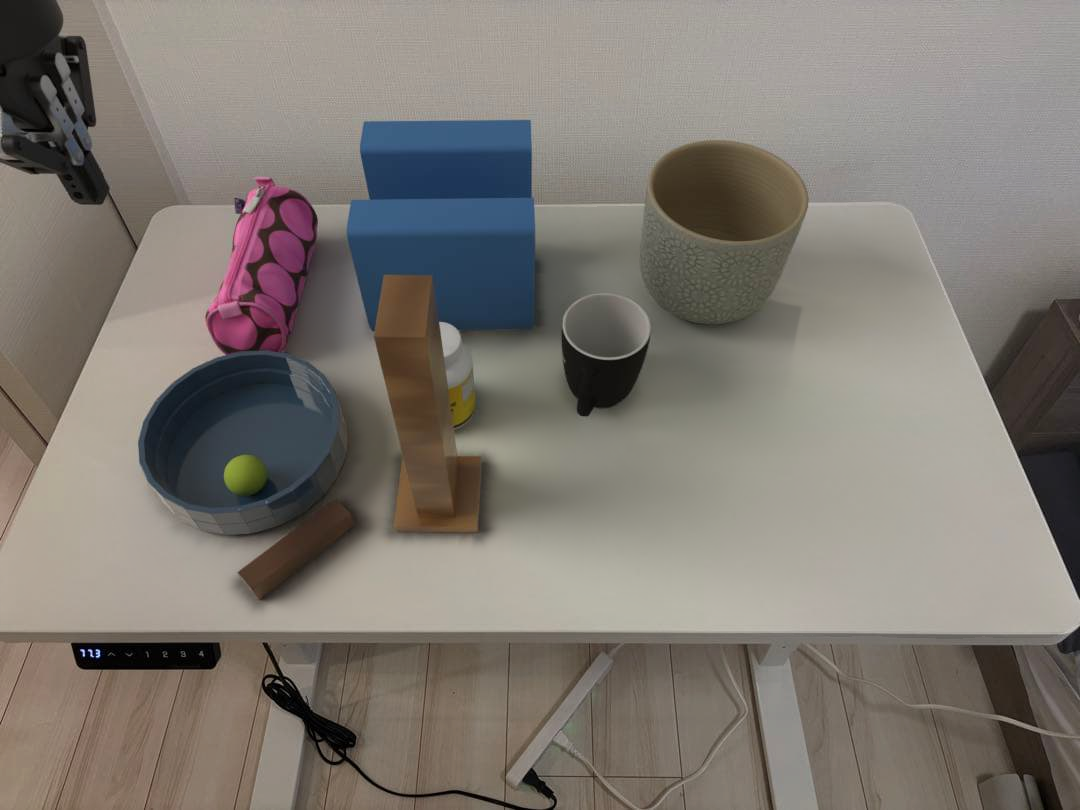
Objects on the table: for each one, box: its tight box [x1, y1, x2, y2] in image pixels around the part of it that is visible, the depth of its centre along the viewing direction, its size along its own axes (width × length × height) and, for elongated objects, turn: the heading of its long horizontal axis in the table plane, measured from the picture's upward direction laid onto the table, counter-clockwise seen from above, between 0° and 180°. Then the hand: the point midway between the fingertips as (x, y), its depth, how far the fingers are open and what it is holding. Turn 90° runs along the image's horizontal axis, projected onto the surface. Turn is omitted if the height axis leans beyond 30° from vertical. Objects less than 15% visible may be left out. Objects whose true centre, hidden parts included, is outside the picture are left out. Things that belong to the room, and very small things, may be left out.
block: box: [346, 119, 536, 332], centre depth 88 cm, size 18×18×18 cm
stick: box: [237, 497, 356, 601], centre depth 75 cm, size 11×2×2 cm, turn 135°
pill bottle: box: [439, 322, 477, 431], centre depth 81 cm, size 6×6×12 cm
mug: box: [560, 292, 652, 418], centre depth 83 cm, size 12×9×10 cm
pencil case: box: [204, 176, 319, 356], centre depth 91 cm, size 21×10×10 cm, turn 2°
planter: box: [639, 139, 809, 325], centre depth 90 cm, size 17×17×15 cm
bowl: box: [137, 350, 349, 536], centre depth 80 cm, size 19×19×5 cm
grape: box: [224, 455, 267, 496], centre depth 78 cm, size 4×4×4 cm
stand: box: [373, 275, 483, 533], centre depth 68 cm, size 8×8×28 cm
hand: (93, 198), depth 59 cm, fingers closed
